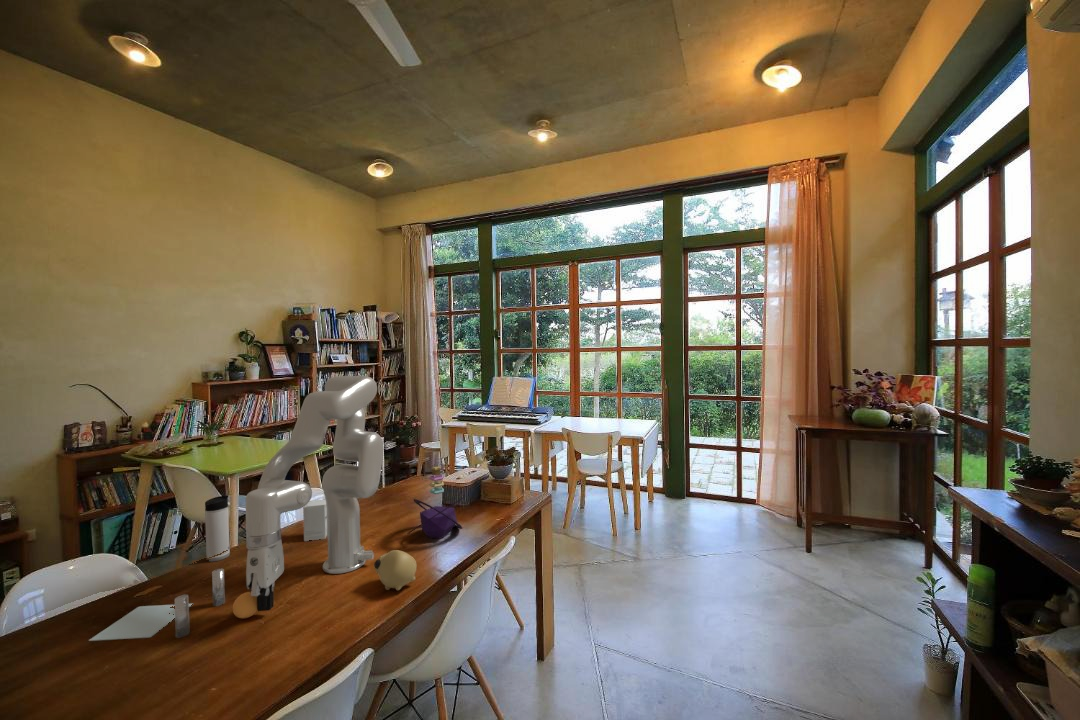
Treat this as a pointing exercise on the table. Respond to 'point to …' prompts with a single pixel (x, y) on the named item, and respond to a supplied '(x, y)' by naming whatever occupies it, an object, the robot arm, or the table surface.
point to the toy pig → (395, 569)
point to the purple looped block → (437, 512)
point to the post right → (218, 587)
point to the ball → (245, 605)
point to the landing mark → (139, 623)
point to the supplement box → (315, 520)
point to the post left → (182, 616)
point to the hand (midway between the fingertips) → (265, 608)
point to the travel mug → (217, 528)
